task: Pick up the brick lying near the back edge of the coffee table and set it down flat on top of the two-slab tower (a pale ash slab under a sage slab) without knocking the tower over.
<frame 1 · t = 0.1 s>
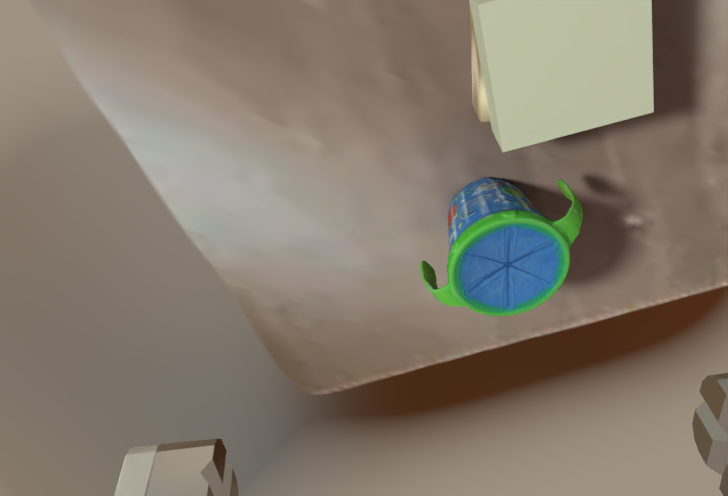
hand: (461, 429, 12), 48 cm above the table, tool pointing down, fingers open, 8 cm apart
lower slab: (541, 26, 57), on the table, touching upper slab
snack cup: (485, 207, 66), on the table
upper slab: (555, 43, 53), point 3 cm above the table, touching lower slab
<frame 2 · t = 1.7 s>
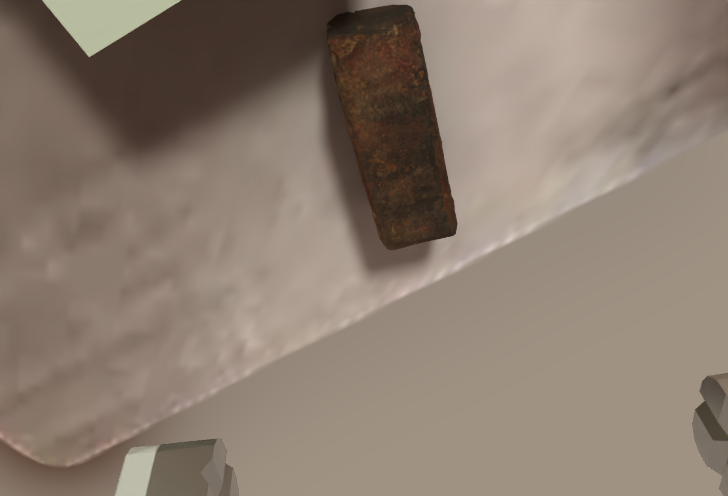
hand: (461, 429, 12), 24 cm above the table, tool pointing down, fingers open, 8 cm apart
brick: (392, 107, 34), on the table
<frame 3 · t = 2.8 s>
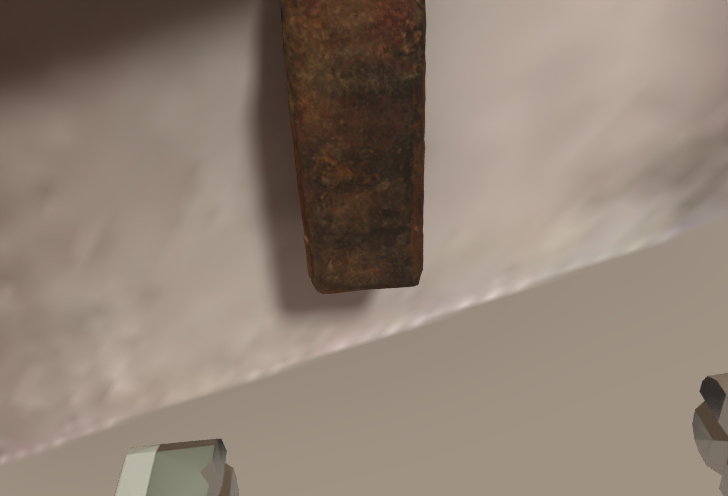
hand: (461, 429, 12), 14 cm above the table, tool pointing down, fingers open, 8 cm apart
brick: (354, 89, 24), on the table
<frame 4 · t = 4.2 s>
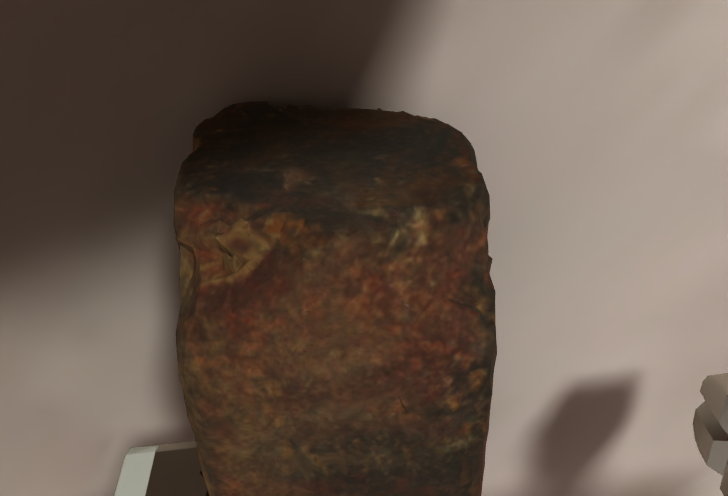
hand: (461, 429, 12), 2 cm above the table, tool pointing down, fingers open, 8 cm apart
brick: (341, 331, 14), on the table
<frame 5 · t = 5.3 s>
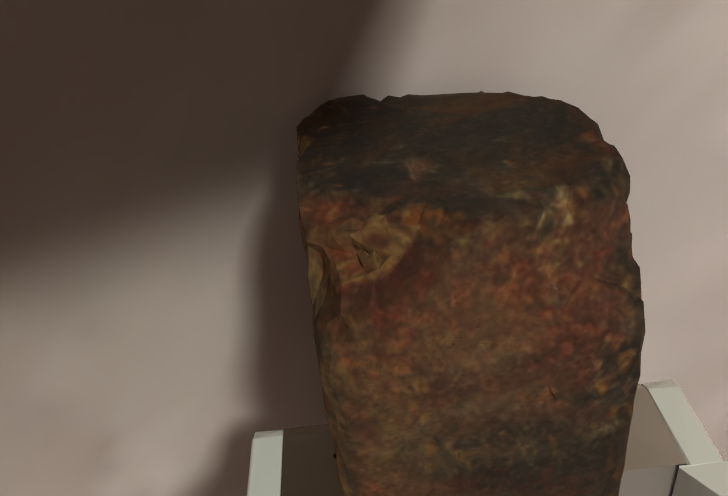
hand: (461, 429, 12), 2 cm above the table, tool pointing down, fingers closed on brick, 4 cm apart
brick: (434, 324, 14), on the table, touching gripper
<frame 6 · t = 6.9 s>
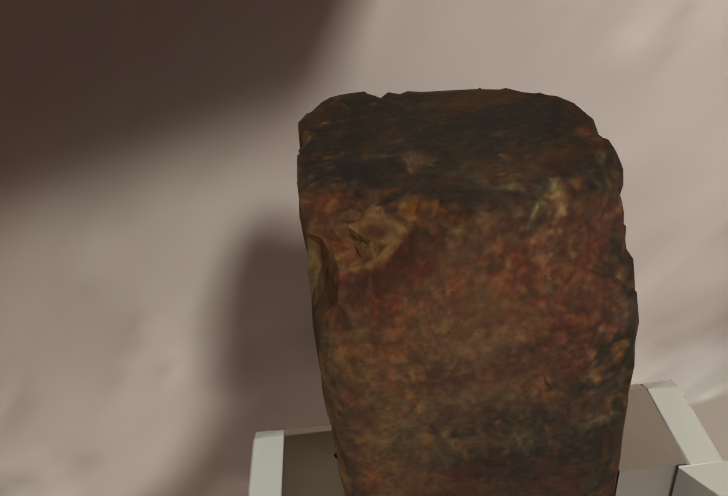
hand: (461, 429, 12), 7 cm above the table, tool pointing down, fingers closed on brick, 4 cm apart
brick: (436, 321, 14), point 4 cm above the table, touching gripper
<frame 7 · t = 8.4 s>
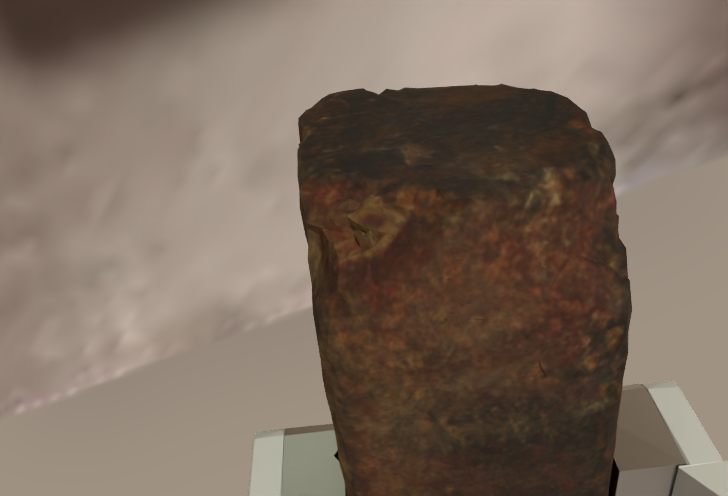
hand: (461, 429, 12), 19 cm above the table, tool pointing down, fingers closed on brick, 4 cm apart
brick: (434, 317, 14), point 16 cm above the table, touching gripper
when the fingers open (11 cm above the table, at t = 12.8 s): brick drops 1 cm, resting on upper slab.
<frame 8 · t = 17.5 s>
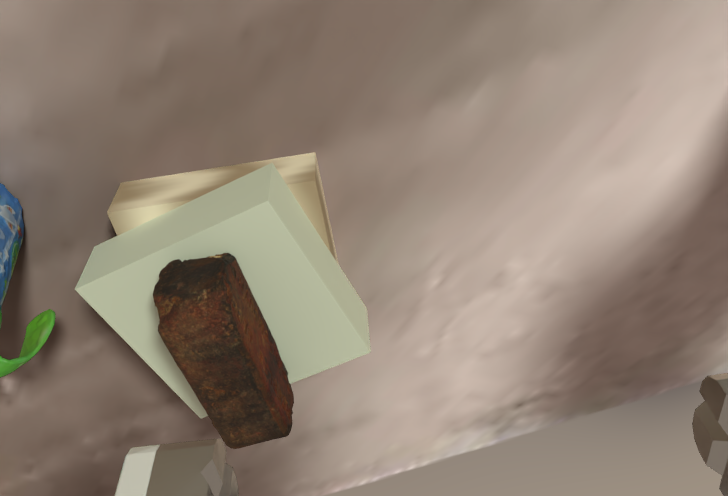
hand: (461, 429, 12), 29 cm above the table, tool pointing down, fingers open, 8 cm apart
lower slab: (242, 241, 45), on the table, touching upper slab
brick: (233, 320, 39), point 7 cm above the table, touching upper slab
upper slab: (237, 279, 42), point 3 cm above the table, touching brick, lower slab
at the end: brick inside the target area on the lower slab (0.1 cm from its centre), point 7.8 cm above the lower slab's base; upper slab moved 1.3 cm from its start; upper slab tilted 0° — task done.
